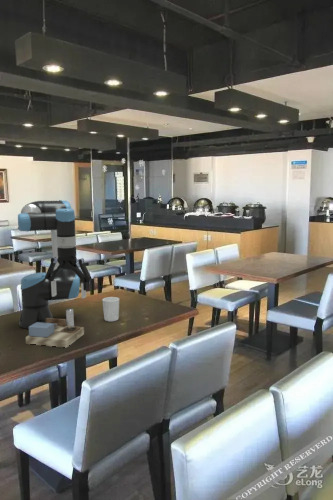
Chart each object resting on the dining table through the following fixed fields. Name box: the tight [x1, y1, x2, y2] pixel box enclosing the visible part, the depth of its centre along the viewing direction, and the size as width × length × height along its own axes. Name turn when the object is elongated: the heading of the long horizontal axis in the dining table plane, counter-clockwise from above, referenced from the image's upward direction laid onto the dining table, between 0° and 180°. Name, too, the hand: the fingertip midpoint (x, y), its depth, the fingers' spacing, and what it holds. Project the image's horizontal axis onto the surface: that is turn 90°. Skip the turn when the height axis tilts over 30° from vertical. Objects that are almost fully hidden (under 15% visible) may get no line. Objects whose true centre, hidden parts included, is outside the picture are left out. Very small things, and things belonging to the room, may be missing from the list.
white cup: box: [102, 296, 120, 322], centre depth 195 cm, size 8×8×10 cm
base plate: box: [25, 317, 85, 349], centre depth 171 cm, size 18×16×6 cm
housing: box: [28, 322, 54, 337], centre depth 167 cm, size 8×6×4 cm
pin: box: [65, 308, 75, 331], centre depth 172 cm, size 3×3×12 cm
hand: (68, 296), depth 171 cm, fingers open, 13 cm apart
